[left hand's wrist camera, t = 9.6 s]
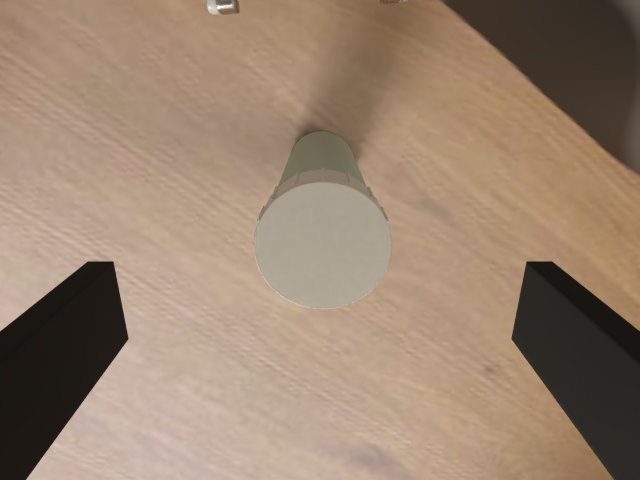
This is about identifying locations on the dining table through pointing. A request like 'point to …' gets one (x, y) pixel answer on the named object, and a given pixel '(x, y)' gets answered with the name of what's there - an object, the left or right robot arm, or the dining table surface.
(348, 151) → the jar
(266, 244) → the lid
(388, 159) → the dining table surface
